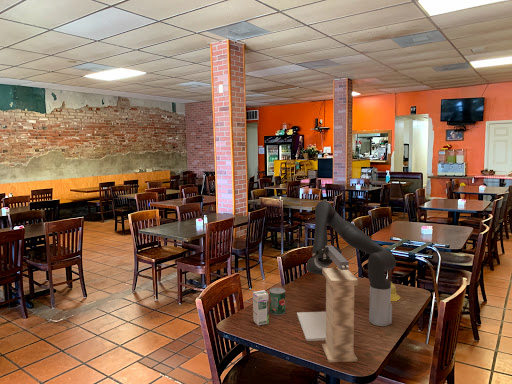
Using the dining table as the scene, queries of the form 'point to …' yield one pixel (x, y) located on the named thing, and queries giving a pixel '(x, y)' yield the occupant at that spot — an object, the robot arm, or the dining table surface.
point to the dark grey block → (337, 258)
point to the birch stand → (339, 315)
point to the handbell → (392, 287)
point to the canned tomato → (277, 301)
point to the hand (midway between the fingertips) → (331, 249)
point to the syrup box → (261, 307)
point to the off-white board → (313, 325)
